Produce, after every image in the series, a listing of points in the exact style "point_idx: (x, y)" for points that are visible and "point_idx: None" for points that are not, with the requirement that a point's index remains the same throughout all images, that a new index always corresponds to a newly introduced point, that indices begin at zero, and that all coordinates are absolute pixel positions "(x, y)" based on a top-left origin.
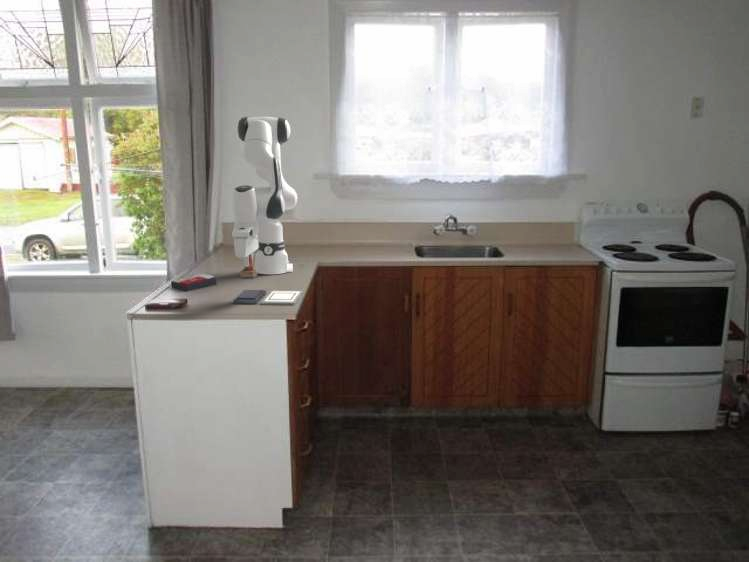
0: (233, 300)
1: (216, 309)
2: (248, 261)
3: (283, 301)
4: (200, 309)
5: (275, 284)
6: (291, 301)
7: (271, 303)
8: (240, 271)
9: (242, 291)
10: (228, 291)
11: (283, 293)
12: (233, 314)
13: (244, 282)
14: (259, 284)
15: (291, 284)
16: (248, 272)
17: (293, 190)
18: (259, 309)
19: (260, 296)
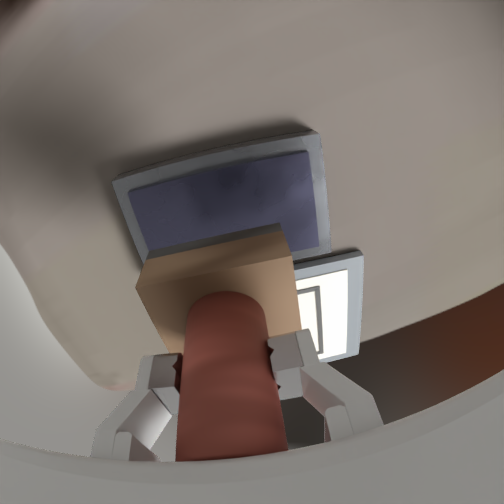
0: (113, 180)
1: (22, 160)
2: (157, 422)
3: None
4: (2, 97)
5: (477, 210)
6: None
7: None
8: (138, 288)
9: (289, 140)
10: (351, 24)
11: (312, 321)
12: (15, 260)
13: (500, 67)
14: (481, 142)
15: (469, 266)
16: (164, 338)
17: None
18: (99, 313)
19: None
